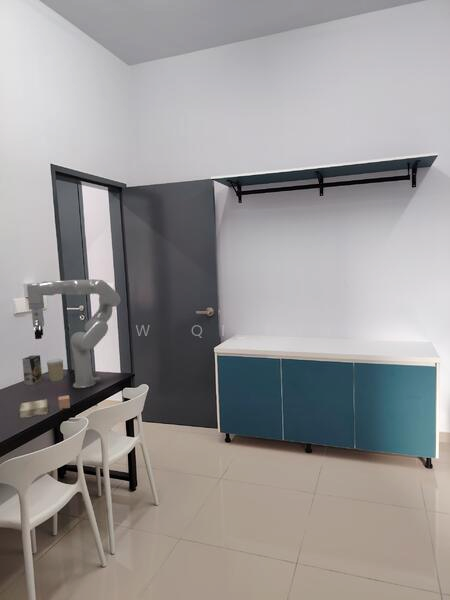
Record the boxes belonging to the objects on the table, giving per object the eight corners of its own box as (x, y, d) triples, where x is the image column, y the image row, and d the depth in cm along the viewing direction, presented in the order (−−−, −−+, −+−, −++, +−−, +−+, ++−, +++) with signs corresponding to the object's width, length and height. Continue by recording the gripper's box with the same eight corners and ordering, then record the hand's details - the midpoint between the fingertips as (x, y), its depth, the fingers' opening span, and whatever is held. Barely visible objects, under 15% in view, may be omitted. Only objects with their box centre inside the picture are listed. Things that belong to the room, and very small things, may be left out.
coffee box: (34, 385, 255) (31, 358, 253) (24, 385, 256) (21, 358, 254) (43, 380, 264) (40, 355, 262) (33, 380, 265) (31, 355, 263)
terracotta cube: (69, 404, 219) (68, 395, 218) (70, 407, 214) (69, 398, 213) (59, 406, 217) (58, 396, 216) (59, 409, 212) (58, 399, 212)
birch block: (47, 406, 218) (46, 399, 217) (47, 414, 207) (46, 406, 206) (21, 411, 213) (21, 403, 213) (20, 419, 202) (19, 411, 202)
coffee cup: (67, 378, 265) (65, 359, 264) (53, 382, 258) (51, 363, 257) (59, 376, 271) (58, 357, 270) (45, 380, 264) (43, 361, 263)
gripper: (42, 307, 222) (45, 339, 224) (45, 303, 239) (47, 333, 240) (27, 308, 220) (30, 340, 222) (30, 304, 236) (33, 335, 238)
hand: (39, 337), depth 231 cm, fingers open, 9 cm apart
